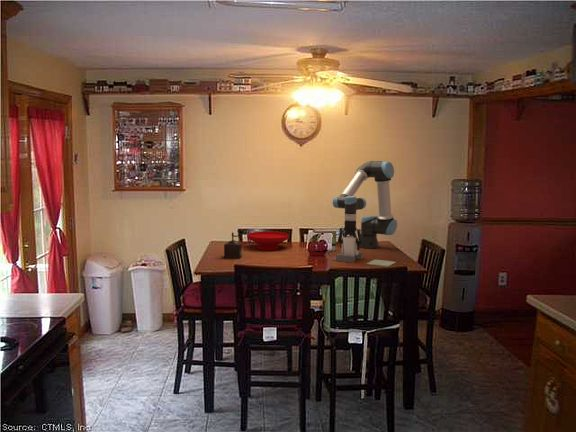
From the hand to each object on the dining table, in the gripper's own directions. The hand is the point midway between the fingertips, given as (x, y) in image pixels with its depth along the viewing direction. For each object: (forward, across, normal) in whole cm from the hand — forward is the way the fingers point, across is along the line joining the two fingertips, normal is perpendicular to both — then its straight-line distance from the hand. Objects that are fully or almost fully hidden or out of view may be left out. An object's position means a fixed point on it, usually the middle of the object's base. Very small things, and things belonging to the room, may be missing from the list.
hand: (349, 254), depth 342 cm
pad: (+4, +22, 0) cm, 22 cm away
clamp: (+4, 0, 0) cm, 4 cm away
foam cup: (+2, 0, 0) cm, 2 cm away
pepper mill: (+3, -69, -33) cm, 77 cm away
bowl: (+4, -68, +7) cm, 68 cm away
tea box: (+4, -30, +22) cm, 37 cm away
